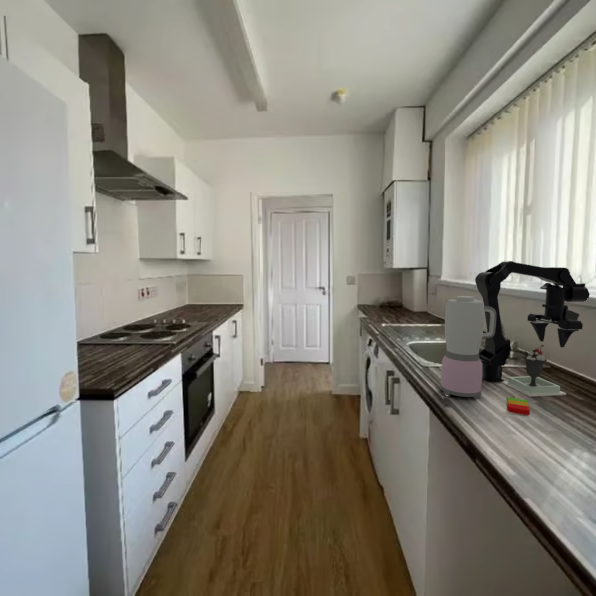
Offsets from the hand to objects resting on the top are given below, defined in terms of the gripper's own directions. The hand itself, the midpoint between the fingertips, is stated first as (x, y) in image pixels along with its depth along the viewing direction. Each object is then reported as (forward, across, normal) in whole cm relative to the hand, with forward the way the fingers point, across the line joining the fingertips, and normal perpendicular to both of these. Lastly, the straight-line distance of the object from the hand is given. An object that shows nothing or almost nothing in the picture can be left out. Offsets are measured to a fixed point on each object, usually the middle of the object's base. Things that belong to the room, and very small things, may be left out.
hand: (551, 344), depth 132 cm
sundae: (+13, -9, +14) cm, 21 cm away
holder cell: (+13, -9, +14) cm, 21 cm away
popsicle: (+14, -21, +29) cm, 38 cm away
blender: (+13, -11, +40) cm, 43 cm away
